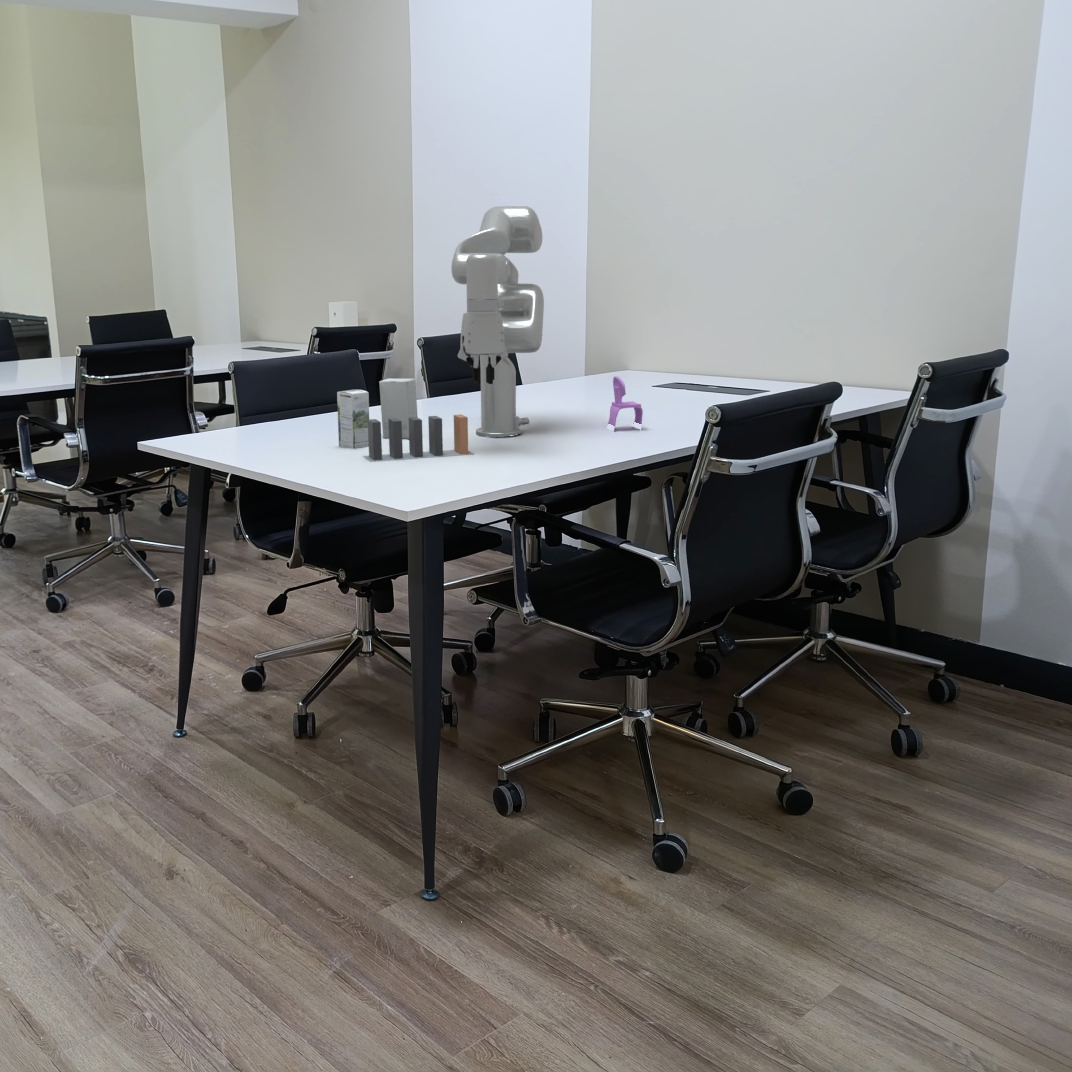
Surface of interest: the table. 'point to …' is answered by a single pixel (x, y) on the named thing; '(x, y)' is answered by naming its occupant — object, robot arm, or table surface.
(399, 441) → the domino
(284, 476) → the table surface
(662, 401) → the table surface
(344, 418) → the syrup box
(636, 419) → the toy chair
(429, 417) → the domino
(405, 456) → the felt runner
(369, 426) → the domino
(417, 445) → the domino
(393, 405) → the skincare box
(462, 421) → the domino
